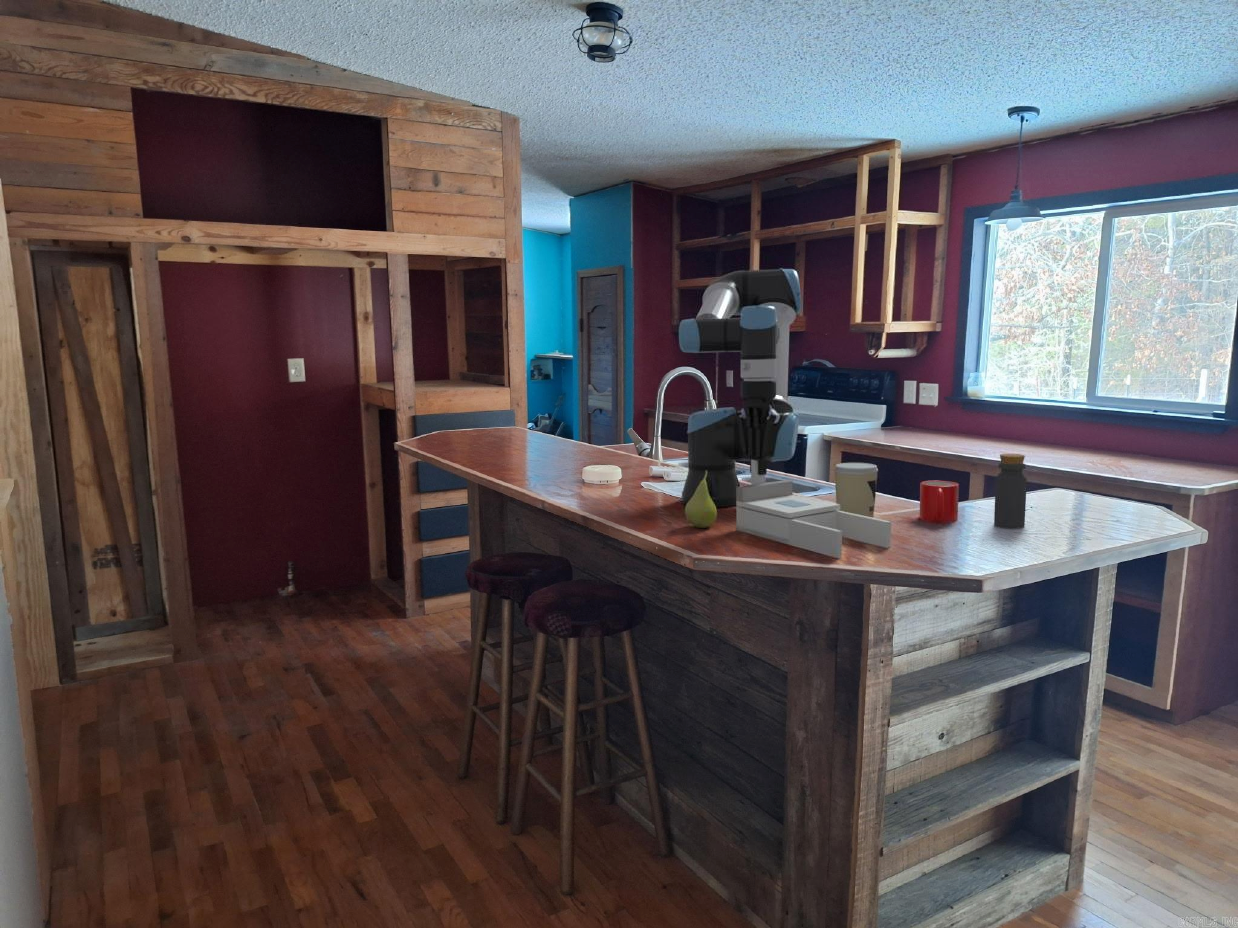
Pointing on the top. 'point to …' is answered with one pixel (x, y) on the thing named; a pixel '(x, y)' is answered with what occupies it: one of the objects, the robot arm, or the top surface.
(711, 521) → the fruit
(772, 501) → the lid
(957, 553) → the top surface
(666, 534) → the top surface
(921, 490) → the mug
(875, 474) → the coffee cup
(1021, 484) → the bottle
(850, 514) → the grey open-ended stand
